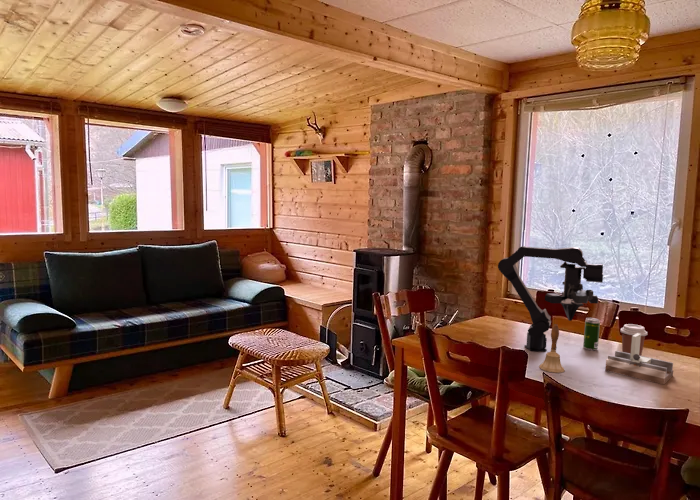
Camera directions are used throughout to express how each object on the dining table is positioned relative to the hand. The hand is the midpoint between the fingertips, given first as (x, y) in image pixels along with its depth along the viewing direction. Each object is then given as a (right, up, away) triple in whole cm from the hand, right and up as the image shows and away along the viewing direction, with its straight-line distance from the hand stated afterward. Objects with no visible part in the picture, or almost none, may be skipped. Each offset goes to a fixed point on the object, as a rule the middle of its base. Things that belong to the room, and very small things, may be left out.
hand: (569, 320), depth 198 cm
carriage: (+15, -14, -21) cm, 29 cm away
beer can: (+12, -13, +9) cm, 20 cm away
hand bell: (-13, -15, -17) cm, 26 cm away
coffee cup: (+23, -14, -1) cm, 27 cm away
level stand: (+16, -16, -19) cm, 29 cm away
